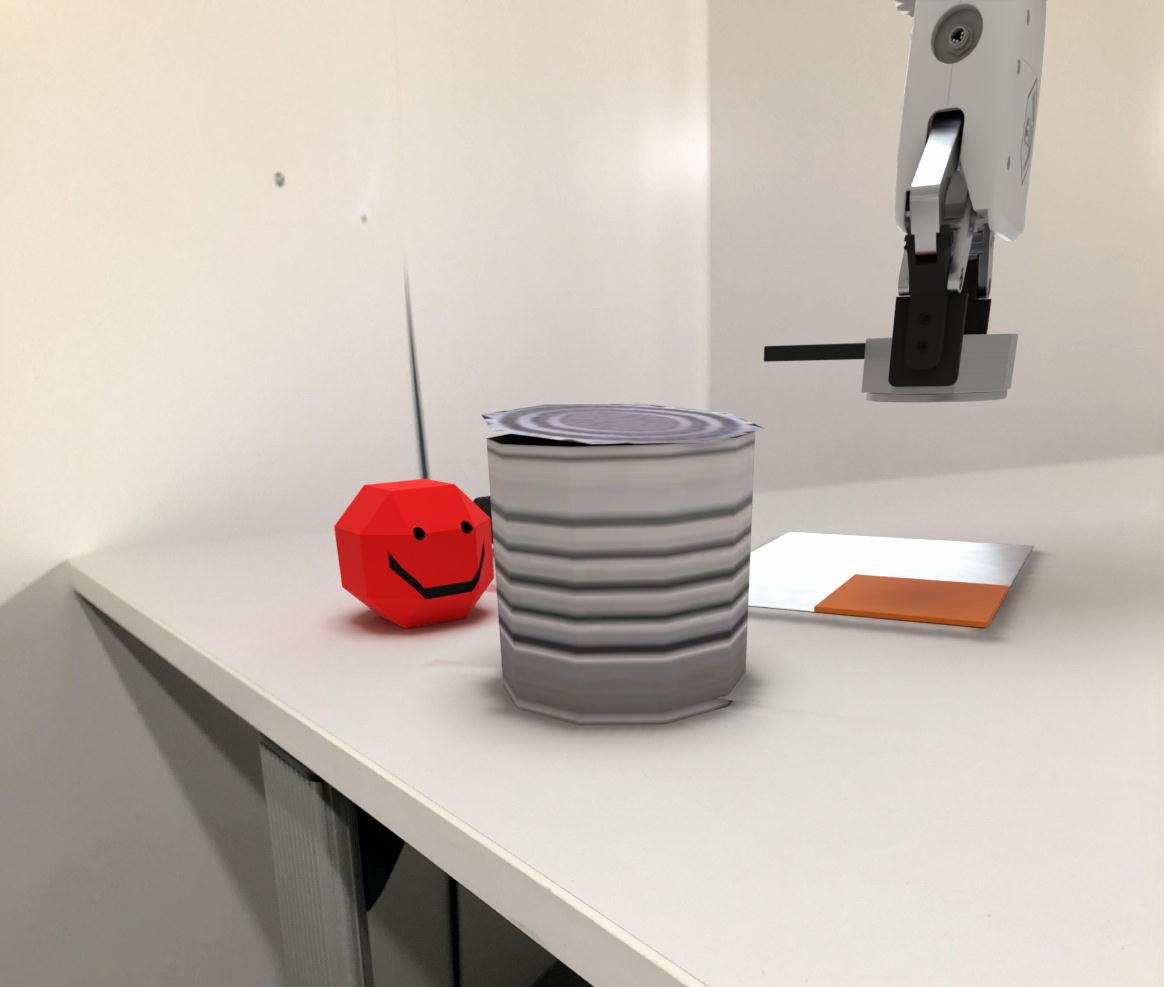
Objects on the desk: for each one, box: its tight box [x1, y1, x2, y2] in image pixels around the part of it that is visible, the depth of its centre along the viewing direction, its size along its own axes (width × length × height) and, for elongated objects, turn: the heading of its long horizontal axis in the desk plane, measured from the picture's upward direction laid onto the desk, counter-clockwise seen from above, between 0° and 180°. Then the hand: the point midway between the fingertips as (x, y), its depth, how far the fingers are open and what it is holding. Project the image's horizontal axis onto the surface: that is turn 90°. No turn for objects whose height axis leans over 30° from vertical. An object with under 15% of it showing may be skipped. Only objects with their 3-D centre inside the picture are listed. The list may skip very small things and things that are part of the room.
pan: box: [763, 333, 1019, 403], centre depth 51 cm, size 13×7×3 cm, turn 61°
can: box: [481, 403, 766, 726], centre depth 42 cm, size 11×11×12 cm
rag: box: [814, 574, 1010, 628], centre depth 54 cm, size 9×9×1 cm
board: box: [748, 531, 1035, 630], centre depth 63 cm, size 24×18×1 cm
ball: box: [333, 478, 495, 630], centre depth 55 cm, size 8×8×8 cm
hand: (937, 380), depth 50 cm, fingers closed on pan, 7 cm apart
